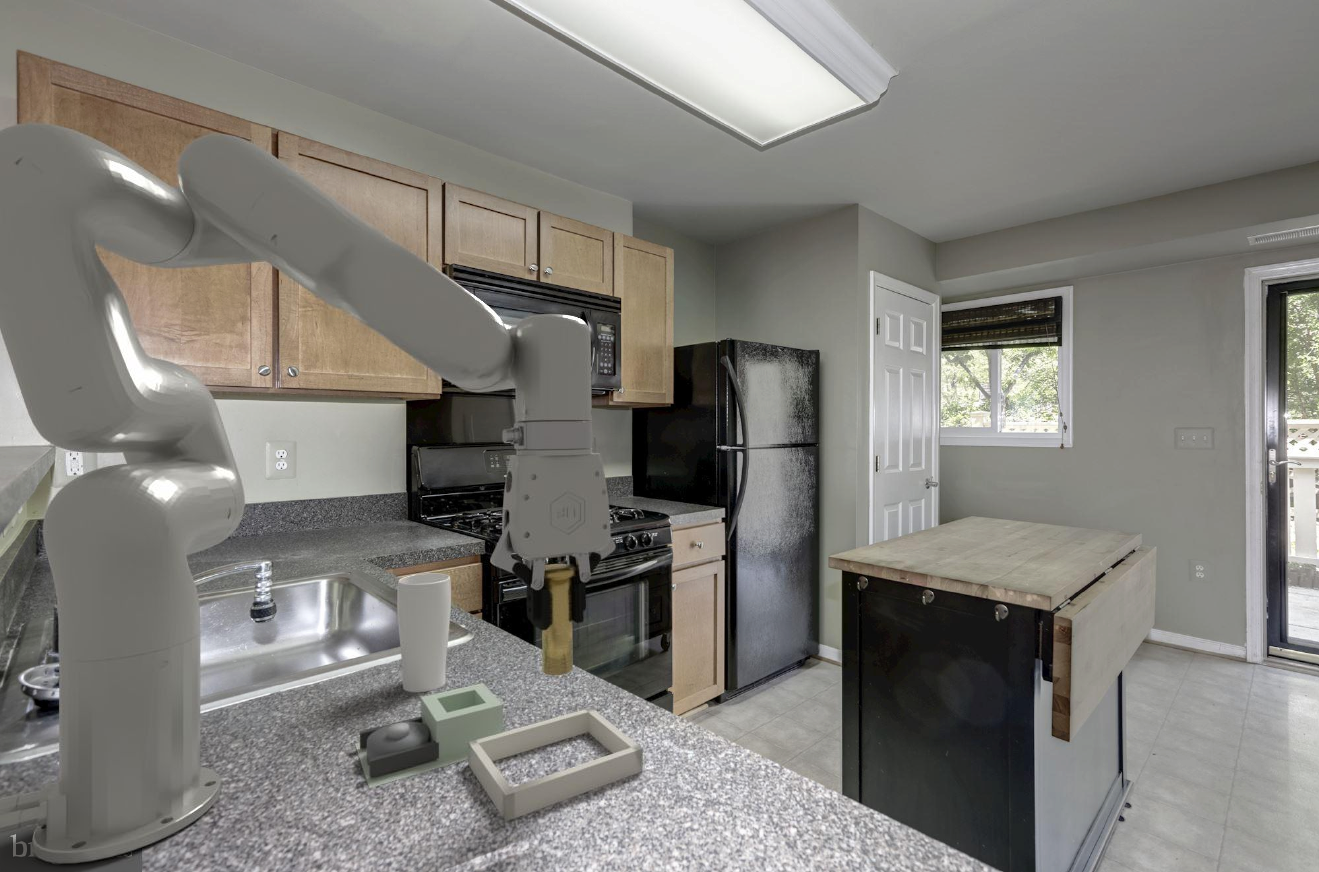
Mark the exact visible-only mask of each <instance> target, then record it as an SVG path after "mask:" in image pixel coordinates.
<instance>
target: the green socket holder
mask: <svg viewBox="0 0 1319 872" xmlns="http://www.w3.org/2000/svg"><path fill="white" fill-rule="evenodd" d="M503 732H504V704H503V703H502V701H500V700H499V698H498V697H497V696H496V695H495V694H494V693H493V692H492V691H491V690H490V689H489V688H488V687H487V685H486V684H484V682H481V683H477V684H472V685H468V686H464V687H459V688H456V689H451V690H447V691H441V692H437V693H434V694H428V695H425V696H421V697H420V716H418V717H417V716H416V717H413V718H408V719H406V720H405V719H404V720H401V721H397V722H394V723H390V724H389V723H388V724H385V725H380V726H377V727H373V728H369V729H365V730H361V731H359V742H357V743H354V745H355V749H356V751H357V756H358V757H359V762H360V765H361V768H362V770H363V774H364V777H365V779H366V783H367V785H368V789H372V788H376V787H378V786H379V787H380V786H383V785H386V784H390V783H393V782H397V781H400V780H403V779H406V778H410V777H413V776H417V775H420V774H423V773H427V772H430V771H434V770H437V769H441V768H443V767H447V766H450V765H454V764H456V763H460V762H464V761H468V742H471V741H474V740H478V739H482V738H485V737H489V736H492V735H496V734H499V733H503Z"/></svg>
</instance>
